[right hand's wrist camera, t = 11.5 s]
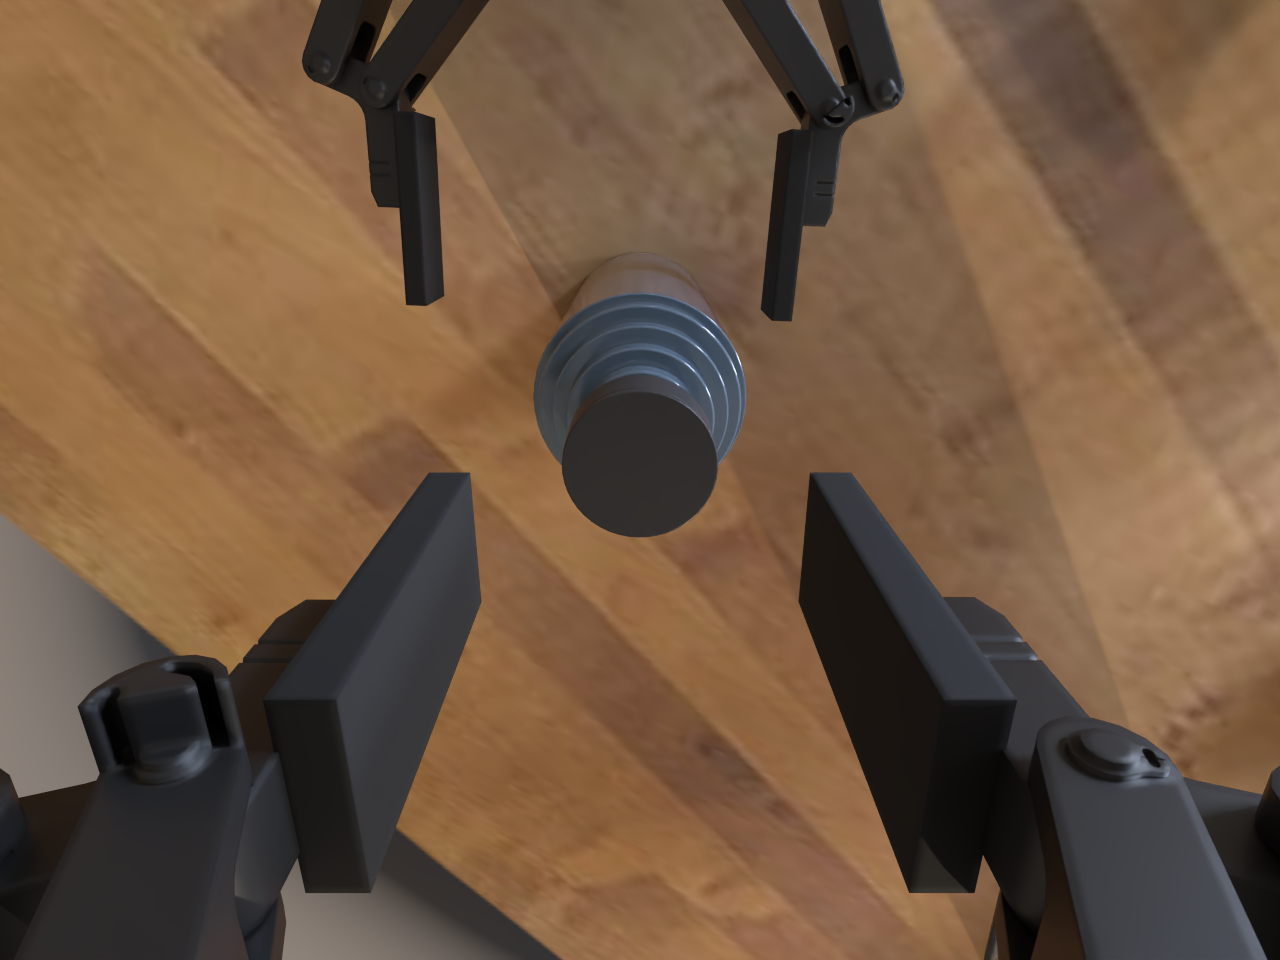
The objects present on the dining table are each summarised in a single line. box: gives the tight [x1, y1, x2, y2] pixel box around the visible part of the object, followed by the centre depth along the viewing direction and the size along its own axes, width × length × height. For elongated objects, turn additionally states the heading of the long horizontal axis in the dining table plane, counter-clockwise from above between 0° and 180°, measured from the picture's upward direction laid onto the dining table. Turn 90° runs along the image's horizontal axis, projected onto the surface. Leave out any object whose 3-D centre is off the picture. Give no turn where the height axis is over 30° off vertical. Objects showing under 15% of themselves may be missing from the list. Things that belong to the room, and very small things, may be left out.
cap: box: [562, 375, 718, 537], centre depth 19 cm, size 4×4×2 cm
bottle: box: [534, 253, 746, 465], centre depth 27 cm, size 7×7×19 cm
